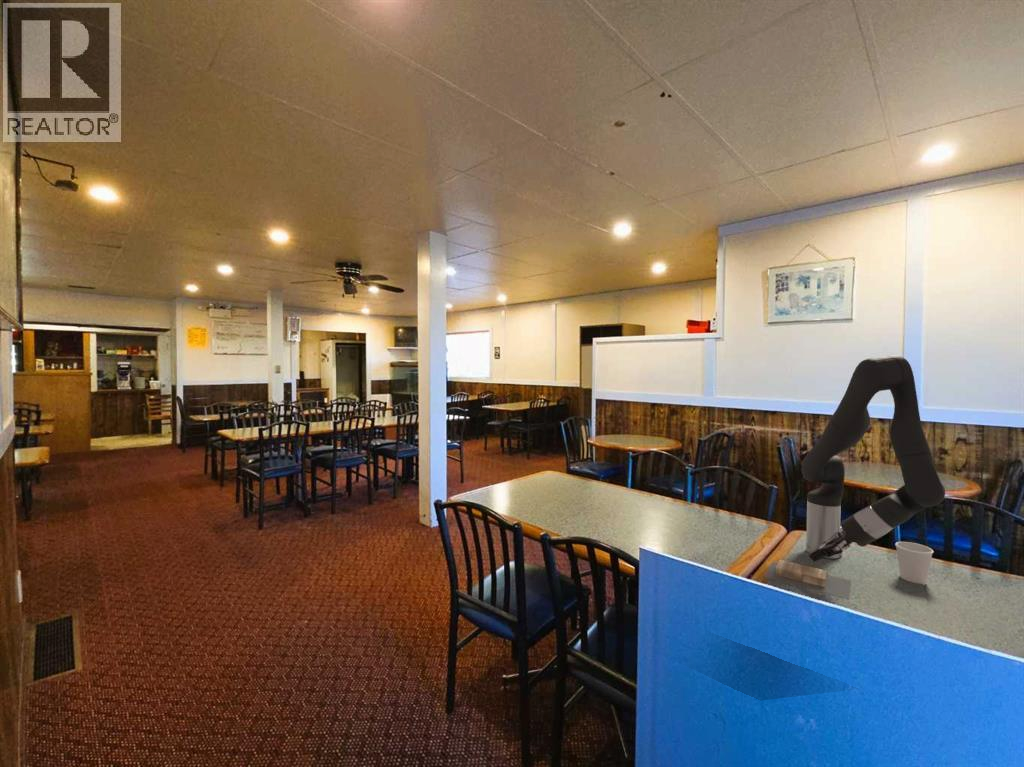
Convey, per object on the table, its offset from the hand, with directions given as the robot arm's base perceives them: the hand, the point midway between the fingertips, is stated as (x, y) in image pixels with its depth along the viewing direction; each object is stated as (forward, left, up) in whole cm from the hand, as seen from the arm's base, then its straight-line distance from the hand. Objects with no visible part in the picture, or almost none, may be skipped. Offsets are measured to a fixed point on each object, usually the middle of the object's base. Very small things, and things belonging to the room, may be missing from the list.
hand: (811, 558), depth 129 cm
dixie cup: (-30, +4, -7) cm, 31 cm away
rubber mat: (+1, -1, -7) cm, 7 cm away
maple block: (-2, +3, -5) cm, 6 cm away
